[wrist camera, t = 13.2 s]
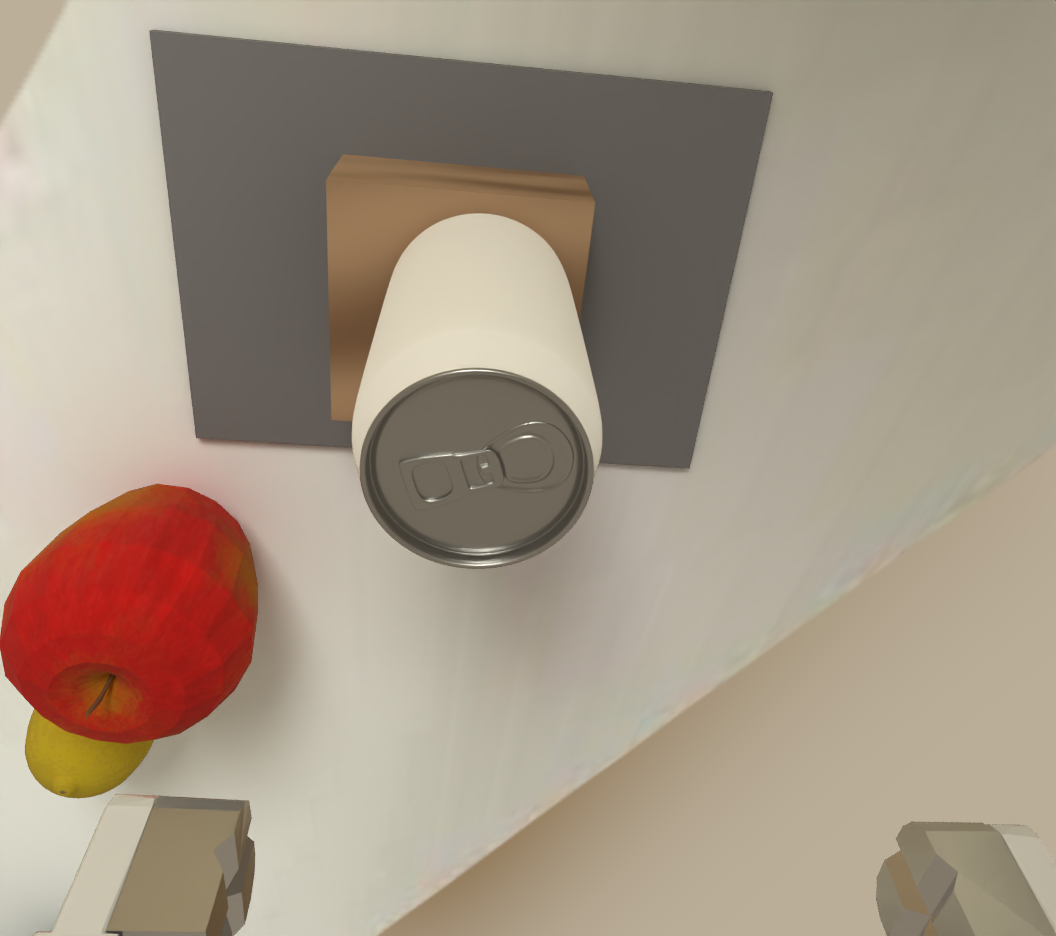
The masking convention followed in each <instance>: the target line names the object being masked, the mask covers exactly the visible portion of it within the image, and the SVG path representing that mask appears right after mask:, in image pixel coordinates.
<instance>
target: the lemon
mask: <svg viewBox="0 0 1056 936" xmlns="http://www.w3.org/2000/svg"><path fill="white" fill-rule="evenodd" d="M153 741H154V740H150V741H143V742H136V743H129V744H123V743H114V742H106V741H98V740H93V739H90V738H86V737H83V736H80V735H76V734H73V733H69V732H66V731H64V730H63V729H61V728H60V727H58V726H56V725H55V724H53V723H52V722H50V721H49V720H47V719H45V718H44V717H42V716H41V715H40V714H39V713H38V712H37V711H36V710H35V709H34V711H33V713H32V716H31V719H30V722H29V725H28V730H27V736H26V743H25V755H26V760H27V763H28V767H29V769H30V771H31V773H32V774H33V776H34V777H35V779H36V780H37V781H38V782H39V783H40V784H41V785H42V786H43V787H44V788H46V789H47V790H49V791H51V792H52V793H55V794H57V795H60V796H64V797H69V798H87V797H92V796H96V795H99V794H102V793H105V792H107V791H109V790H111V789H113V788H115V787H116V786H118V785H120V784H121V783H122V782H123V781H124V780H126V779H127V778H128V777H129V776H130V775H131V774H132V772H133V771H134V770H135V769H136V768H137V767H138V766H139V764H140V763H141V762H142V761H143V759H144V758H145V756H146V755H147V753H148V751H149V749H150V747H151V745H152V743H153Z"/></svg>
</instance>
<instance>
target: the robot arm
mask: <svg viewBox="0 0 1056 936" xmlns="http://www.w3.org/2000/svg"><path fill="white" fill-rule="evenodd" d="M251 819H252V817H251V811H250V804H249V801H247V800H227V799H208V798H188V797H168V796H155V795H126V794H116V795H115V796H114V797H113V799H112V800H111V801H110V802H109V804H108V805H107V806H106V807H105V809H104V812H103V814H102V816H101V818H100V821H99V823H98V825H97V828H96V830H95V832H94V834H93V837H92V839H91V841H90V844H89V846H88V848H87V851H86V853H85V855H84V857H83V860H82V862H81V864H80V867H79V869H78V871H77V873H76V876H75V878H74V880H73V883H72V885H71V887H70V890H69V892H68V894H67V896H66V899H65V901H64V903H63V906H62V908H61V910H60V912H59V915H58V917H57V919H56V922H55V924H54V926H53V929H52V931H51V932H36V933H35V934H34V935H33V936H234V935H235V934H236V933H237V932H238V931H239V930H240V929H241V928H242V927H243V925H244V924H245V921H246V917H247V913H248V908H249V904H250V900H251V893H252V886H253V879H254V870H255V848H254V841H252V840H251V839H250V838H249V837H248V836H247V834H248V830H249V826H250V822H251ZM896 840H897V842H898V845H899V847H900V850H901V851H899V852H897V853H896V854H894V855H892V856H891V857H889V858H888V859H886V860H885V861H884V862H883V865H882V867H881V869H880V872H879V874H878V876H877V888H876V889H877V890H876V901H877V905H878V910H879V915H880V918H881V922H882V924H883V927H884V929H885V932H886V935H887V936H1056V863H1055V862H1054V860H1053V859H1052V857H1051V855H1050V854H1049V852H1048V850H1047V849H1046V847H1045V846H1044V844H1043V842H1042V840H1041V839H1040V837H1039V836H1038V835H1037V834H1036V833H1035V832H1034V831H1033V830H1032V829H1031V828H1029V827H1028V826H1023V825H996V824H995V825H993V824H992V825H991V824H983V823H963V822H960V823H959V822H911V823H908V824H906V825H904V826H903V827H902V829H901V830H900V832H899V834H898V836H897V838H896Z"/></svg>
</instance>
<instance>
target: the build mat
mask: <svg viewBox="0 0 1056 936" xmlns="http://www.w3.org/2000/svg"><path fill="white" fill-rule="evenodd" d="M149 32H150V40H151V49H152V58H153V66H154V75H155V84H156V93H157V101H158V110H159V119H160V127H161V136H162V145H163V154H164V162H165V171H166V180H167V189H168V197H169V206H170V215H171V223H172V232H173V241H174V250H175V258H176V267H177V276H178V284H179V293H180V302H181V311H182V319H183V328H184V337H185V346H186V354H187V363H188V372H189V380H190V389H191V398H192V407H193V415H194V424H195V433H196V438H204V439H220V440H237V441H253V442H269V443H285V444H301V445H318V446H334V447H350V448H352V421H339V420H331V378H330V335H329V292H328V248H327V205H326V179H327V177H328V176H329V174H330V173H331V171H332V170H333V168H334V167H335V165H336V164H337V162H338V161H339V159H340V158H341V156H342V155H343V154H346V155H357V156H369V157H380V158H391V159H402V160H413V161H424V162H436V163H447V164H458V165H469V166H480V167H491V168H502V169H514V170H525V171H536V172H547V173H558V174H569V175H580V176H584V177H585V179H586V182H587V184H588V187H589V189H590V191H591V194H592V196H593V199H594V201H595V209H594V217H593V224H592V232H591V239H590V247H589V254H588V262H587V269H586V277H585V284H584V292H583V299H582V307H581V314H580V322H579V323H580V327H581V331H582V335H583V339H584V343H585V347H586V351H587V356H588V360H589V364H590V368H591V372H592V377H593V381H594V385H595V389H596V394H597V398H598V403H599V408H600V414H601V420H602V450H601V456H600V461H599V463H610V464H626V465H642V466H658V467H674V468H690V464H691V459H692V455H693V450H694V446H695V441H696V437H697V432H698V428H699V423H700V419H701V414H702V410H703V405H704V401H705V396H706V392H707V387H708V383H709V378H710V374H711V369H712V365H713V360H714V356H715V351H716V347H717V342H718V338H719V333H720V329H721V324H722V320H723V315H724V311H725V306H726V302H727V297H728V293H729V289H730V284H731V280H732V275H733V271H734V266H735V262H736V257H737V253H738V248H739V244H740V239H741V235H742V230H743V226H744V221H745V217H746V212H747V208H748V203H749V199H750V194H751V190H752V185H753V181H754V176H755V172H756V167H757V163H758V158H759V154H760V149H761V145H762V140H763V136H764V131H765V127H766V122H767V118H768V113H769V109H770V104H771V100H772V95H773V93H772V92H770V91H761V90H751V89H741V88H731V87H721V86H711V85H701V84H691V83H681V82H671V81H661V80H651V79H641V78H631V77H621V76H611V75H601V74H591V73H581V72H571V71H561V70H551V69H541V68H531V67H521V66H511V65H501V64H491V63H481V62H471V61H461V60H451V59H441V58H430V57H420V56H410V55H400V54H390V53H380V52H370V51H360V50H350V49H340V48H330V47H320V46H310V45H300V44H290V43H280V42H270V41H260V40H250V39H240V38H230V37H220V36H210V35H200V34H190V33H180V32H170V31H160V30H151V31H149Z"/></svg>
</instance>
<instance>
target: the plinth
mask: <svg viewBox="0 0 1056 936" xmlns="http://www.w3.org/2000/svg"><path fill="white" fill-rule="evenodd" d="M326 205H327V248H328V292H329V335H330V378H331V420H339V421H353V414H354V409H355V404H356V400H357V396H358V392H359V388H360V384H361V380H362V377H363V373H364V370H365V366H366V362H367V359H368V355H369V352H370V348H371V345H372V341H373V337H374V334H375V330H376V327H377V323H378V320H379V316H380V313H381V309H382V306H383V303H384V299H385V296H386V292H387V289H388V286H389V283H390V280H391V277H392V274H393V271H394V269H395V266H396V264H397V262H398V260H399V259H400V257H401V255H402V254H403V252H404V251H405V249H406V248H407V247H408V245H409V244H410V243H411V242H412V241H413V240H414V239H415V238H416V237H417V236H418V235H419V234H421V233H422V232H423V231H425V230H426V229H427V228H429V227H431V226H432V225H434V224H436V223H438V222H440V221H442V220H445V219H448V218H451V217H454V216H458V215H464V214H473V213H485V214H494V215H499V216H503V217H507V218H510V219H512V220H515V221H517V222H519V223H521V224H523V225H525V226H527V227H529V228H530V229H532V230H533V231H534V232H536V233H537V234H538V235H540V236H541V237H542V238H543V239H544V240H545V241H546V242H547V243H548V244H549V245H550V247H551V248H552V249H553V251H554V252H555V254H556V255H557V257H558V259H559V261H560V262H561V264H562V266H563V269H564V271H565V273H566V276H567V279H568V282H569V285H570V288H571V292H572V296H573V299H574V303H575V307H576V311H577V315H578V319H579V322H580V314H581V307H582V299H583V292H584V284H585V277H586V269H587V262H588V254H589V247H590V239H591V232H592V224H593V217H594V209H595V201H594V199H593V196H592V194H591V191H590V189H589V187H588V184H587V182H586V179H585V177H584V176H580V175H569V174H558V173H547V172H536V171H525V170H514V169H502V168H491V167H480V166H469V165H458V164H447V163H436V162H424V161H413V160H402V159H391V158H380V157H369V156H357V155H346V154H343V155H342V156H341V158H340V159H339V161H338V162H337V164H336V165H335V167H334V168H333V170H332V171H331V173H330V174H329V176H328V177H327V179H326Z"/></svg>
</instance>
